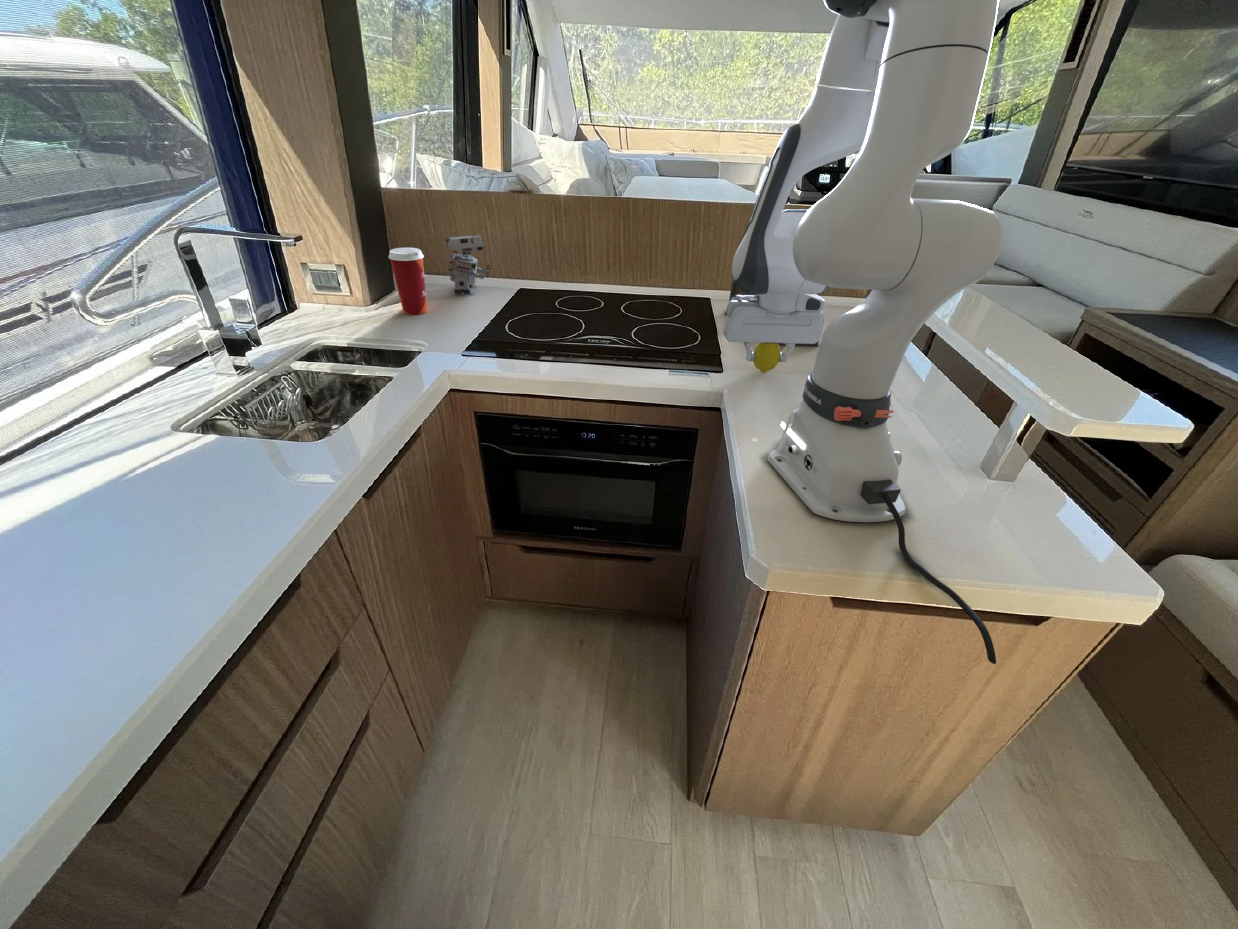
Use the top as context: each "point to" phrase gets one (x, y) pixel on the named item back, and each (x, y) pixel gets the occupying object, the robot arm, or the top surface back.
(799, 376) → the top surface
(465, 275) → the figurine
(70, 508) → the top surface
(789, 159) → the robot arm
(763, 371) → the lemon
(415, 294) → the coffee cup
